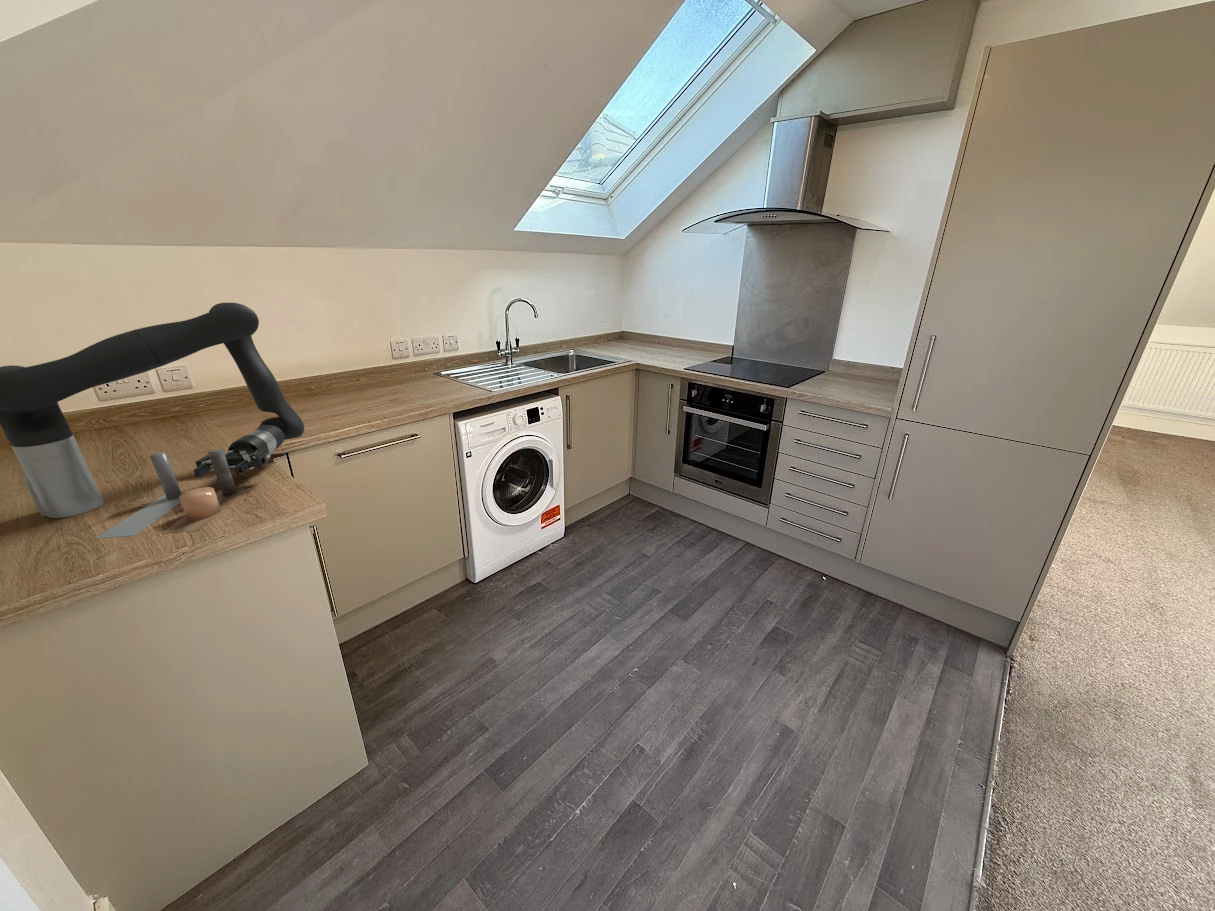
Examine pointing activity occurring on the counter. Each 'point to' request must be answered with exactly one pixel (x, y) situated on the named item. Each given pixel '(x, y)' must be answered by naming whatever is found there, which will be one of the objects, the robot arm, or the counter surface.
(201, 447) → the counter surface
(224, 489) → the peg on wooden base
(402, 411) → the counter surface
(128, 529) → the grey peg stand
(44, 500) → the robot arm
